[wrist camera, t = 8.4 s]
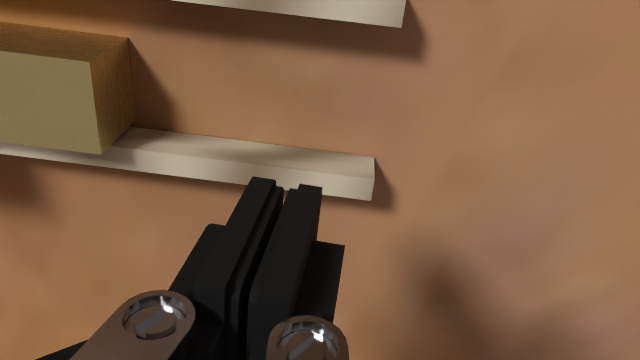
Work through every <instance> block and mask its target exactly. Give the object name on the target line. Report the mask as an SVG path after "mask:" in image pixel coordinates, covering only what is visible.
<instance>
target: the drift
mask: <svg viewBox="0 0 640 360" xmlns="http://www.w3.org/2000/svg"><path fill="white" fill-rule="evenodd" d="M134 121H135V110H134V98H133V86H132V74H131V62H130V50H129V38H127V37H119V36H111V35H103V34H95V33H87V32H79V31H71V30H63V29H54V28H46V27H38V26H30V25H22V24H14V23H6V22H0V142H7V143H14V144H22V145H30V146H37V147H45V148H53V149H61V150H68V151H76V152H84V153H91V154H99V155H101V154H102V153H103V152H104V151H105V150H106V149H107V148H108V147H109V146H110V145H111V144H112V143H113V142H114V141H115V140H116V139H117V138H118V137H119V136H120V135H121V134H122V133H123V132H124V131H125V130H126V129H127V128H128V127H129V126H130V125H131V124H132V123H133V122H134Z"/></svg>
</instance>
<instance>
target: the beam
mask: <svg viewBox="0 0 640 360" xmlns="http://www.w3.org/2000/svg"><path fill="white" fill-rule="evenodd" d="M173 1H182V2H190V3H198V4H207V5H215V6H223V7H232V8H240V9H248V10H257V11H265V12H273V13H281V14H290V15H298V16H306V17H315V18H323V19H331V20H340V21H348V22H356V23H365V24H373V25H381V26H390V27H398V28H401V27H402V21H403V16H404V10H405V4H406V0H173ZM0 154H7V155H15V156H22V157H30V158H38V159H46V160H54V161H62V162H70V163H78V164H85V165H93V166H101V167H109V168H117V169H125V170H133V171H140V172H148V173H156V174H164V175H172V176H180V177H188V178H196V179H203V180H211V181H219V182H227V183H235V184H243V185H248V183H249V181H250V180H251V178H252V177H253V176H255V177H261V178H268V179H274V180H276V186H280V187H283V188H284V190H289V189H290V188H293V189H298V186H299V184H306V185H312V186H319V187H322V195H329V196H337V197H345V198H353V199H361V200H369V201H371V197H372V192H373V186H374V180H375V175H374V157H370V156H362V155H354V154H346V153H338V152H330V151H322V150H314V149H306V148H298V147H290V146H282V145H274V144H266V143H258V142H250V141H242V140H234V139H226V138H218V137H210V136H202V135H194V134H186V133H178V132H170V131H162V130H154V129H146V128H138V127H130V126H129V127H128V128H127V129H126V130H125V131H124V132H123V133H122V134H121V135H120V136H119V137H118V138H117V139H116V140H115V141H114V142H113V143H112V144H111V145H110V146H109V147H108V148H107V149H106V150H105V151H104V152H103V153H102V154H101V155H99V154H91V153H84V152H76V151H68V150H61V149H53V148H45V147H37V146H30V145H22V144H14V143H7V142H0Z"/></svg>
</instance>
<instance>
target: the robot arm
mask: <svg viewBox="0 0 640 360" xmlns="http://www.w3.org/2000/svg"><path fill="white" fill-rule="evenodd" d="M283 195H284V188H283V187H280V186H276V180H274V179H268V178H261V177H255V176H253V177H252V178H251V180H250V181H249V183H248V185H247V187H246V189H245V191H244V192H243V194H242V196H241V198H240V200H239V202H238V203H237V205H236V207H235V209H234V211H233V213H232V214H231V216H230V218H229V220H228V222H227V224H226V225H225V226H224V225H218V224H212V223H211V224H208V226H207V227H206V228H205V230H204V232H203V233H202V235H201V237H200V238H199V240H198V242H197V243H196V245H195V247H194V248H193V250H192V252H191V253H190V255H189V256H188V258H187V260H186V261H185V263H184V265H183V266H182V268H181V270H180V271H179V273H178V275H177V276H176V278H175V280H174V281H173V283H172V285H171V286H170V288H169V290H168V291H167V290H155V291H149V292H145V293H141V294H138V295H136V296H134V297H132V298H130V299H128V300H127V301H126V302H125V303H123V304H122V305H121V306H120V307H119V308H118V309H117V310H116V311H115V312H114V313H113V314H112V315H111V316H110V317H109V318H108V320H107V321H106V322H105V323H104V324H103V325H102V326H101V327H100V328H99V329H98V330H97V331H96V332H95V333H94V334H93V335H92V336H91V338H90V339H89V340H86V341H83V342H81V343H78V344H75V345H73V346H70V347H67V348H65V349H62V350H59V351H57V352H54V353H52V354H49V355H46V356H44V357H41V358H38V359H36V360H349V352H348V345H347V341H346V337H345V336H344V335H343V333H342V332H341V330H340V329H339V328H338V327H336V326H335V325H334V324H333V319H334V313H335V307H336V300H337V294H338V288H339V281H340V275H341V268H342V262H343V255H344V249H345V245H339V244H333V243H327V242H321V241H316V240H317V232H318V223H319V215H320V207H321V198H322V187H319V186H312V185H306V184H299V186H298V189H293V188H290V189H289V191H288V194H287V196H286V199H285V202H284V204H283Z"/></svg>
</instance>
